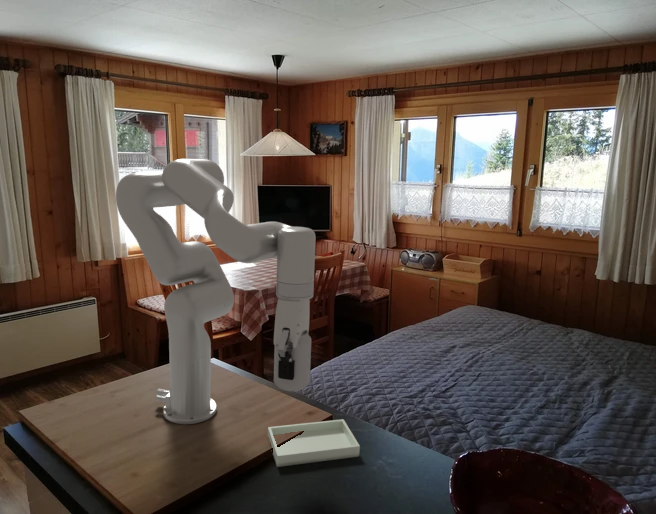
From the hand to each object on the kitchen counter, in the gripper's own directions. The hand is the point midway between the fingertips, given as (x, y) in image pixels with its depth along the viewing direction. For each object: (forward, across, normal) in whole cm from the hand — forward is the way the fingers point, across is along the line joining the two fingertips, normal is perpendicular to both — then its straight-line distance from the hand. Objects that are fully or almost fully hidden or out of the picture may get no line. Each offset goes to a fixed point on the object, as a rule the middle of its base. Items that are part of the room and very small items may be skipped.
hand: (292, 369), depth 106 cm
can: (+4, 0, 0) cm, 4 cm away
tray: (+19, -4, +4) cm, 20 cm away
